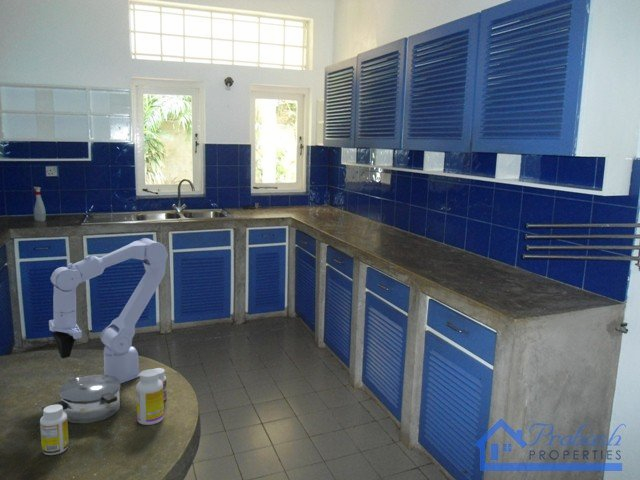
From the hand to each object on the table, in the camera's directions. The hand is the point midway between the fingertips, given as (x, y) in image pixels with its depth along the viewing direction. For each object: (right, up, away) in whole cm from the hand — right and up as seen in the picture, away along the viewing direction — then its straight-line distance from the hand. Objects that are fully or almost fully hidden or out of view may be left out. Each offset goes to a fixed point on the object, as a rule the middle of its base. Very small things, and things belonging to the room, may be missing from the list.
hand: (65, 356), depth 144 cm
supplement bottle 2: (+28, -14, -12) cm, 33 cm away
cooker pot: (+10, -13, -10) cm, 19 cm away
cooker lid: (+12, -7, -10) cm, 17 cm away
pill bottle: (+27, -12, -1) cm, 29 cm away
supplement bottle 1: (+11, -16, -26) cm, 33 cm away
